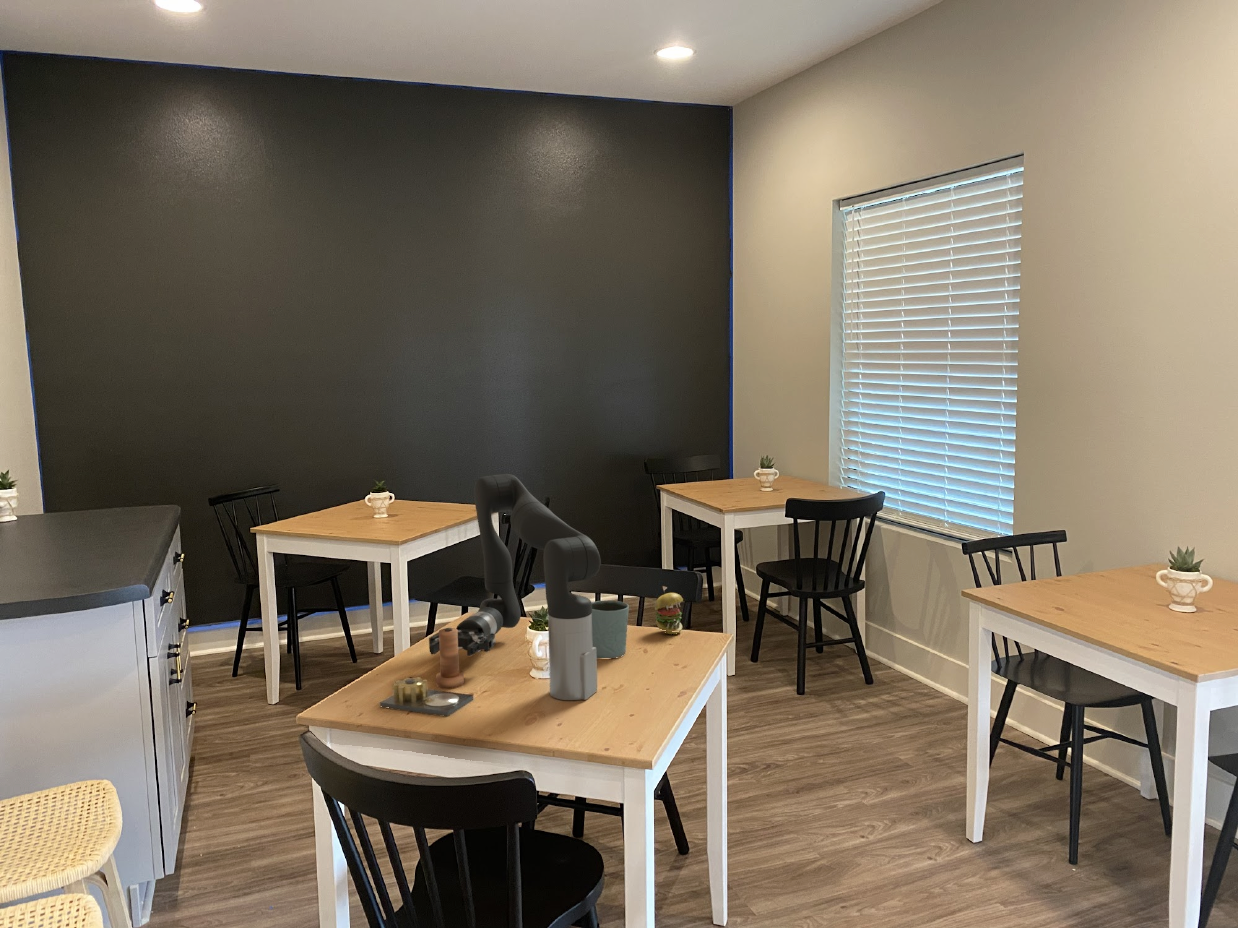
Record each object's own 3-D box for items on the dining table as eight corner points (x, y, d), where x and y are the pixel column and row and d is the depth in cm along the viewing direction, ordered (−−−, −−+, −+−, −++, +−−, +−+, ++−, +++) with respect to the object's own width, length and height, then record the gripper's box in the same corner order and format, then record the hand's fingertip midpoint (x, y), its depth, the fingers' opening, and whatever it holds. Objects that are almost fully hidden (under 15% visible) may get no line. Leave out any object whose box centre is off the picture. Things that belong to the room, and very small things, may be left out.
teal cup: (589, 647, 225) (588, 600, 224) (630, 647, 225) (629, 599, 223) (586, 660, 215) (585, 610, 214) (629, 660, 214) (628, 610, 213)
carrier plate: (473, 699, 190) (473, 693, 190) (447, 716, 181) (447, 710, 181) (408, 691, 196) (408, 685, 196) (380, 707, 187) (380, 700, 187)
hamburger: (668, 638, 232) (668, 591, 231) (648, 632, 237) (648, 587, 236) (689, 632, 237) (688, 586, 236) (669, 626, 242) (669, 582, 241)
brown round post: (469, 680, 202) (467, 626, 201) (454, 689, 196) (452, 633, 195) (445, 678, 204) (443, 624, 203) (430, 686, 199) (428, 631, 197)
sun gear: (433, 692, 192) (433, 677, 191) (415, 703, 185) (414, 687, 185) (406, 689, 194) (405, 673, 194) (387, 700, 188) (386, 684, 188)
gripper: (447, 614, 217) (419, 632, 201) (504, 616, 214) (480, 635, 198) (448, 644, 218) (420, 666, 202) (505, 647, 215) (481, 669, 199)
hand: (450, 650), depth 200 cm, fingers open, 8 cm apart
